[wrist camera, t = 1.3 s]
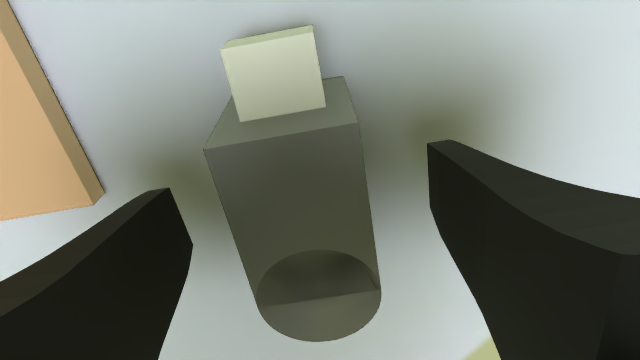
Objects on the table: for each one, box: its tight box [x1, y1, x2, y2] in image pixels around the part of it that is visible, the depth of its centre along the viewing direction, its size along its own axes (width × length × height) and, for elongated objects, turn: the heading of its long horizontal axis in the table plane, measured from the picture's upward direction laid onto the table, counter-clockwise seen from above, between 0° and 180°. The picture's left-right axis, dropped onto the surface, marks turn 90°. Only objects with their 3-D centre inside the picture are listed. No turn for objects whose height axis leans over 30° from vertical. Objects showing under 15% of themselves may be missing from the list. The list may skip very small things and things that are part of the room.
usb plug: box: [203, 25, 381, 342], centre depth 12 cm, size 9×4×4 cm, turn 10°
